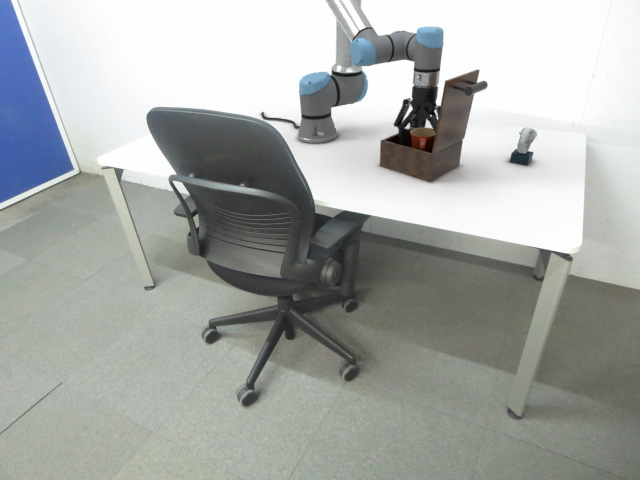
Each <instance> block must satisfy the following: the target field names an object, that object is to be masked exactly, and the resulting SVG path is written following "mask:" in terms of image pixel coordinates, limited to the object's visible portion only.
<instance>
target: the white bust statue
mask: <svg viewBox="0 0 640 480" xmlns="http://www.w3.org/2000/svg"><path fill="white" fill-rule="evenodd" d="M518 135H519V139H518V143H517V145H516V148H515V149H513V151H512V152H511V154H510V159H509V163H512V164H518V165H522V166H528V167H529V165H530V164H531V163H532V161H533V157H534V151H531V150H530V151H529V149H530V147H531V145H532V143H534V141H535V139H536V138H537V136H538V131H537V130H536V129H535V128H533V127H529V126H528V127H522V129H521V131H519V132H518Z"/></svg>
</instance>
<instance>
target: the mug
mask: <svg viewBox="0 0 640 480" xmlns="http://www.w3.org/2000/svg"><path fill="white" fill-rule="evenodd" d="M410 135H411V139H412V146H411V148H414V149H417V150H421V151H425V152H428V153H432V150H433V145H434V139H435V132H434V130H433V128H432V127H425V128H415V129H413V130H411V131H410Z"/></svg>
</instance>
